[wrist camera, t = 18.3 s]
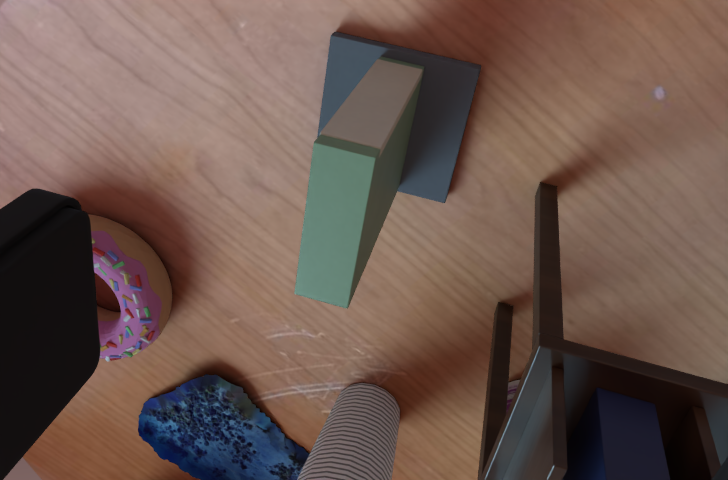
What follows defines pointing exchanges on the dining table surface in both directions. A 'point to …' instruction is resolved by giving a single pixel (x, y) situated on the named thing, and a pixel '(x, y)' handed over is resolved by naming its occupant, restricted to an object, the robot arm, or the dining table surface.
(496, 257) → the dining table surface
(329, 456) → the cup
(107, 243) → the donut
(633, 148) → the dining table surface
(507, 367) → the rack
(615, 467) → the navy book
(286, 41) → the dining table surface
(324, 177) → the green book
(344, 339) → the dining table surface
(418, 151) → the mat
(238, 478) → the rock
